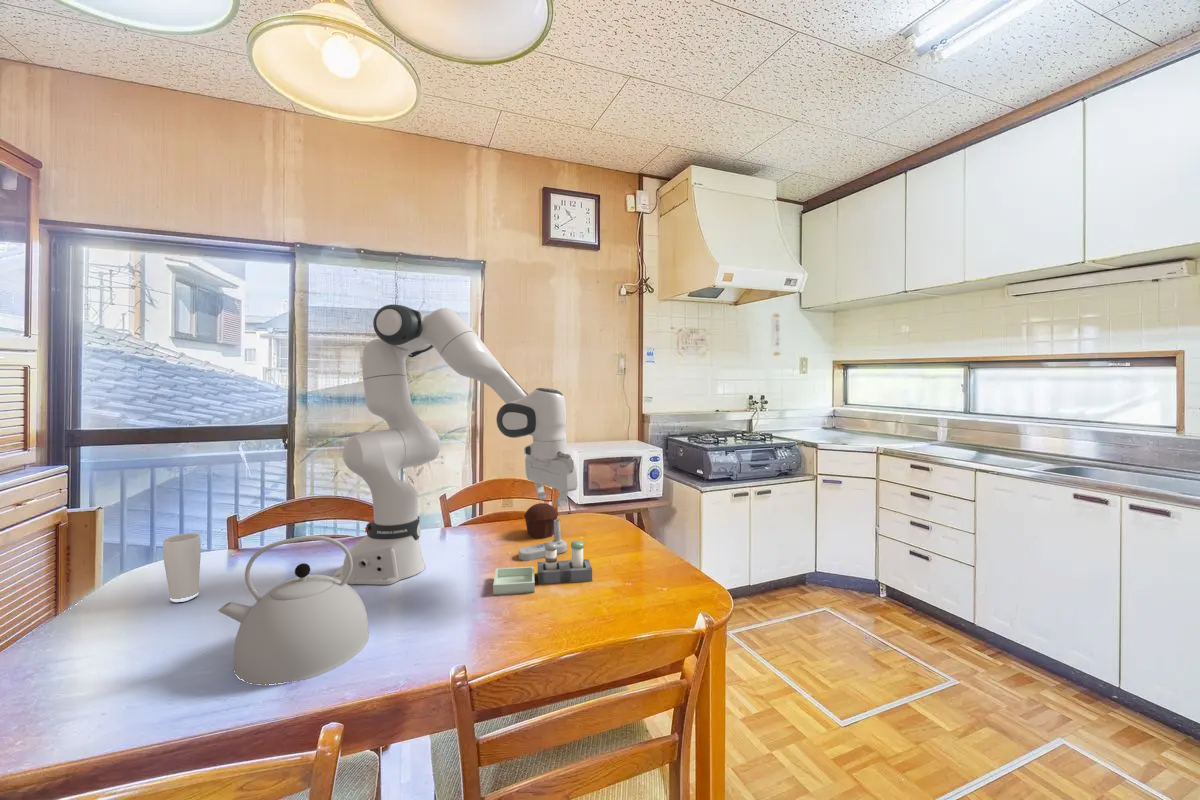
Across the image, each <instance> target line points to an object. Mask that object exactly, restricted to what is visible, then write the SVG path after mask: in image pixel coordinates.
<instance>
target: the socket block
mask: <svg viewBox="0 0 1200 800" xmlns="http://www.w3.org/2000/svg"><path fill="white" fill-rule="evenodd" d="M578 582H579V583H580V582H581V583H582V582H593V567H592V565H591V562H590V559H586V558H585V559H584V558H583V568H573V569H572V559H570V560H568V559H567V560H557V569H556V570H545V561H538V562H537V583H538V585H544V584H545V585H549V584H562V583H563V584H564V583H578Z"/></svg>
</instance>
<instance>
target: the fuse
mask: <svg viewBox="0 0 1200 800" xmlns="http://www.w3.org/2000/svg"><path fill="white" fill-rule="evenodd" d="M584 546H585V543H584V541H582V540H573V541H571V542H570V547H571V560H572V569H573V568H583V560H584Z"/></svg>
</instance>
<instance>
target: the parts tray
mask: <svg viewBox="0 0 1200 800" xmlns="http://www.w3.org/2000/svg"><path fill="white" fill-rule="evenodd" d="M535 583H536V581H535V566H532V565H531V566H519V567H502V568H495V572H494V577H493V584H492V591H493V592H492V594H493V596H500V595H501V596H502V595H503V596H504V595H515V594H517V595H518V594H519V595H520V594H530V593H531V594H532V593H535V588H536V587H535Z"/></svg>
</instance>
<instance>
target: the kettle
mask: <svg viewBox="0 0 1200 800" xmlns="http://www.w3.org/2000/svg"><path fill="white" fill-rule="evenodd" d="M303 541H305V542H306V541H323V542H329V543H331V544H333V545H336V546H337V547H339V548H340V549H341V550H342V551H343V552H344V553H345V556H347V559H348V571H347V574H346V576H345V577H344V579H343V580H342V581H340V580H338V579H336V578H334V576H333V577H332V576H330V575H325V574H310V573H311V566H310V565H309V563H305V562H304V563H299V564H298V565H296V567H295V568H294V574H295V576H296V577H293V578H290V579H287V580H285V581H283V582H281V583H280V584H278V585H276V586H274V587H273V588H272V589H270V590H269V591H268V592H267V593H265V594H264V595H263V596H261V595H260V594H259V593H258V591H257V590H256V588H255V587H254V585H253V583H252V580H251V570H252V566H253V564H254V562H255V561H256V559H257V558H258V557H260V556H261V554H263V553H265V552H266V551H268V550H270V549H274V548H276V547H279V546H281V545H287V544H292V543H297V542H303ZM349 550H350V549H348V547H347V546H346V545H345V544H343V543H342V542H340V541H339V540H337V539H336V538H333V537H329V536H322V535H306V536H305V535H304V536H298V537H296V536H295V537H292V538H287V539H282V540H278V541H275V542H272V543H269V544H268V545H266V546H264V547H261V549H259V550H257V551H256V552H255V553H254V554H253V555H252V556H251V557H250V559H249V560H248V562H247V564H246V567H245V570H244V582H245V585H246V587H247V589H248V591H249V592H250V594H251V595H252V597H254V599H255V600H256V601H255V603H254V604H253V605H247V604H244V603H243V604H242V603H239V602H238V603H237V602H234V601H229V602H227V603H226V604H224V605H222V606H221V607H220V608H219V609H217V612H219V613H221V614H223V615H225V616H227V617H229V618H230V619H232V620H235V621H236V622H238V623H239V627H238V630H237V633H236V636H235V637H236V638H235V641H234V645H233V646H234V647H233V648H234V649H233V666H234V671H235V674H236V675H237V676H238V677H239V678H240V679H243V680H244V681H245V682H248V683H252V684H261V685H265V684H266V685H269V684H275V683H276V684H278V683H284V682H292V681H293V682H294V681H299V682H301V681H300V680H303V681H306V680H309V679H312V678H313V679H314V678H316V677H318V676H321V675H323V674H325V673H328V672H331V671H332V670H335V669H336V668H338V667H340V666H342V665H344V664H346V663H347V662H349V661H350V660H352V659H354V657H356V655H358V654H359V653H360V652H361V651H362V650H363V649H364V648H365V647H366V645H367V643H368V642H369V638H370V631H369V622H368V621H369V620H368V614H367V613H368V612H367V609H366V606H365V603H364V601H363V600H362V598H361V596H360V595H359V593H358V592H357V591H356V590H355V589H354V588H353V587H352V586H351V585H350V584H346V582H347V580H348V579H349V577H350V575H351V572H352V568H353V562H352V557H351V554H350V552H349ZM294 683H295V682H294Z"/></svg>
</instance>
